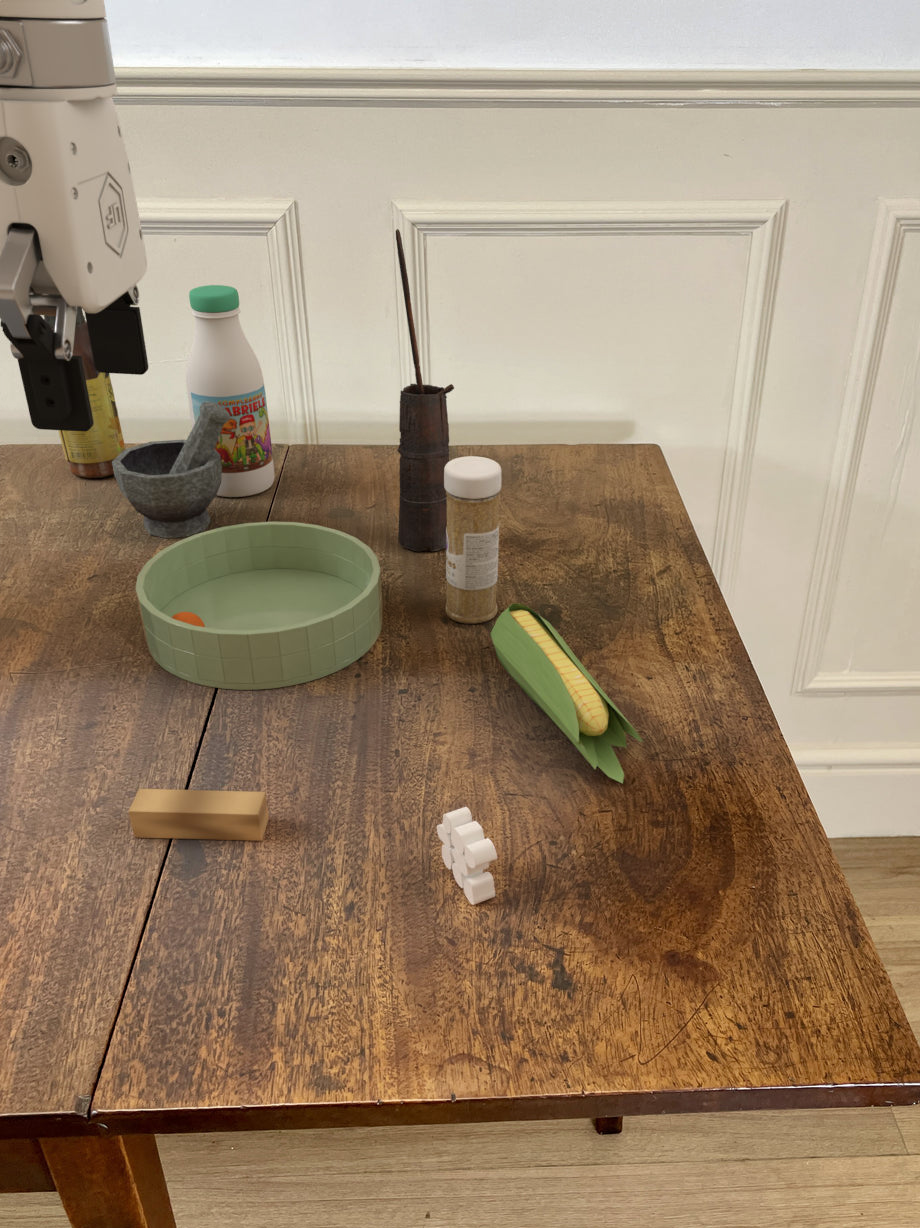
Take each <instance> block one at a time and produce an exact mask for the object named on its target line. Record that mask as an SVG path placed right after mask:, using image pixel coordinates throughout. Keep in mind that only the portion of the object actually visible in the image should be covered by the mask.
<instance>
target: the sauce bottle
mask: <svg viewBox="0 0 920 1228" xmlns="http://www.w3.org/2000/svg"><path fill="white" fill-rule="evenodd" d="M47 296H61V295H58V294H49V295H47ZM43 319H44V320H45V321H46V323H47V324H48V325H49V326H50V328H51V329H52V330H53V331H54V333H55V323H56V316H48V315H43ZM73 355H74V356H81V357H82V362H83V368H84V373H85V378H86V384H87V389H88V394H89V400H90V405H91V410H92V416H93V421H94V424H93V426H92V427H91V428H90V429H89V430H88V431H85V432H83V431H63V430H57V431H58V434H59V438H60V442H61V443H60V444H61V446H62V450H63V454H64V455H63V456H64V458H65V461H66V462H67V465H68V468H69V470H70V472H71V473H72V474H73V475H74V476H76V477H79V478H84V479H98V478H99V479H101V478H105V477H109V476H112V475H114V470H113V465H112V461H113V460H114V459H115V458H116V457H117V456H118V455H119V454H120V453H121V452H122V451H123V450H125V449H126V446H125V445H126V444H125V441H124V435H123V431H122V426H121V422H120V417H119V411H118V406H117V403H116V397H115V393H114V388H113V385H112V380H111V375H110V373H101V372H98V371H97V370H96V369H95V366H94V361H93V356H92V350H91V344H90V339H89V333H88V328H87V322H86V317H85V314H84V310H83V309H82V307H81V306H77V314H76V324H75V335H74V346H73Z"/></svg>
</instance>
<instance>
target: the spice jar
mask: <svg viewBox="0 0 920 1228" xmlns="http://www.w3.org/2000/svg"><path fill="white" fill-rule="evenodd" d="M502 479H503V478H502V467H501V465H500V463H498V462H497V461H496V460H494V459H491V458H488V457H483V456H477V455H472V456H461V457H456V458H453V459H451V460H449V462H448V463H447V464H446V465H445V468H444V488H445V489H446V494H447V527H446V548H445V578H446V603H445V613H446V615H447V616H448V618H451V619H452V620H453V621H455V622H458V623H461V624H467V625H468V624H480V623H486V622H488V621H491V620H492V619H494V618H495V616H496V615H497V614H498V605H497V582H498V578H499V575H498V573H499V547H500V545H499V543H500V522H499V516H500V514H499V509H500V508H499V507H500V495H501V489H502Z"/></svg>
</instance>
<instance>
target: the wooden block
mask: <svg viewBox="0 0 920 1228" xmlns="http://www.w3.org/2000/svg"><path fill="white" fill-rule="evenodd" d="M267 799H268V798H267V793H266V792H265V791H246V790H244V791H243V790H210V789H209V790H207V789H206V790H205V789H199V790H198V789H168V788H138V790H137V792H136V794H135V796H134V798H133V801H132V802H131V804H130V807H129V809H128V816H129V820H130V823H131V828H132V833H133V836H134V838H140V839H141V838H142V839H176V840H179V839H181V840H214V841H215V840H216V841H218V840H219V841H255V842H257V841H258V842H261V841H263V839H264V835H265V832H266V829H267V826H268V822H269V820H270V816H269V815H270V814H269V807H268V801H267Z"/></svg>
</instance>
